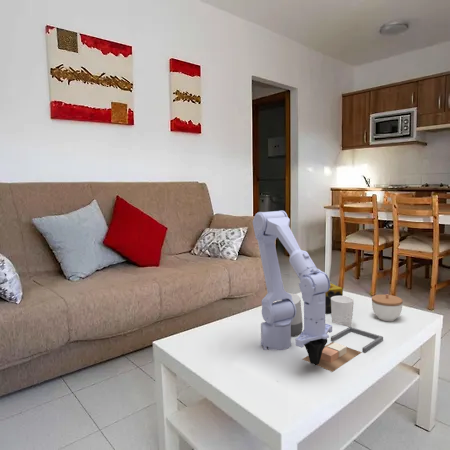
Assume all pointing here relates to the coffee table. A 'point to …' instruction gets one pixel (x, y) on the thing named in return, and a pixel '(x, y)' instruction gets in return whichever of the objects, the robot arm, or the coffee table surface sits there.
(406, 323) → the coffee table surface
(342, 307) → the white cup
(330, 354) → the terracotta tile
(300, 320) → the smart speaker
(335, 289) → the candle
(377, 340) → the tray
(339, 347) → the cream tile
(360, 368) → the coffee table surface
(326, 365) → the brown wooden board
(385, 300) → the lidded jar
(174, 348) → the coffee table surface
